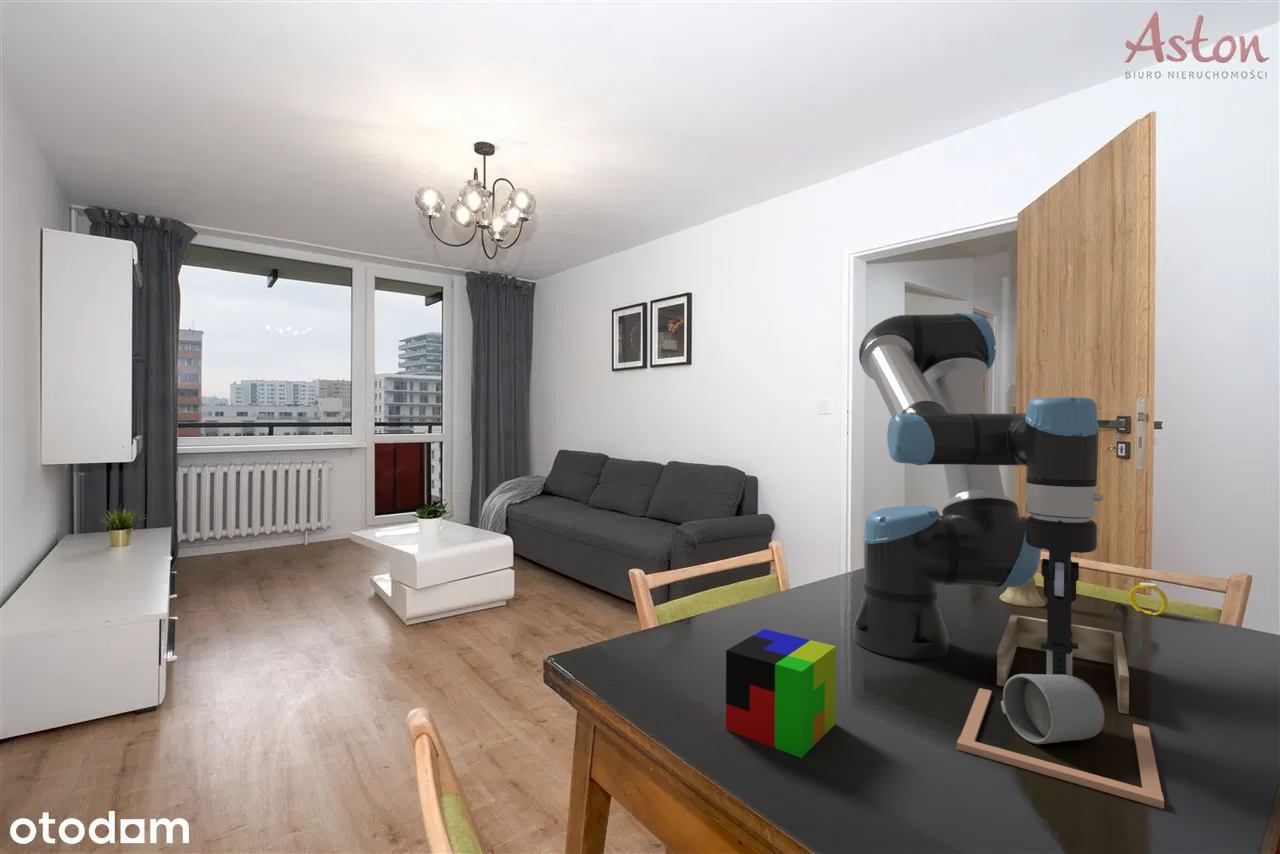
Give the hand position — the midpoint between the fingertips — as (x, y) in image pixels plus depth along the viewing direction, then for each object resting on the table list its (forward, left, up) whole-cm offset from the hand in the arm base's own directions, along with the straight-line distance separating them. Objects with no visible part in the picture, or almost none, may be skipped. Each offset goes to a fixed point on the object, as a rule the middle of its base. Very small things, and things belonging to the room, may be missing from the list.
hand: (1059, 699), depth 79 cm
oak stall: (0, +17, -3) cm, 17 cm away
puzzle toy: (-28, -23, -3) cm, 37 cm away
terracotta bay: (0, -6, -3) cm, 7 cm away
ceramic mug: (-2, -5, -3) cm, 6 cm away
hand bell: (-8, +57, -3) cm, 58 cm away
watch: (+13, +63, -3) cm, 64 cm away
